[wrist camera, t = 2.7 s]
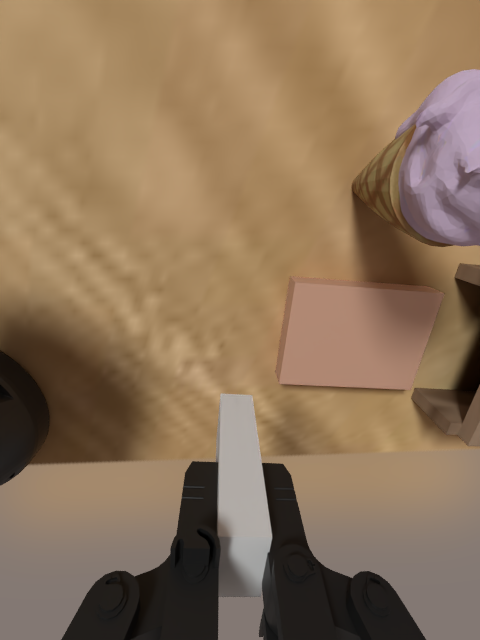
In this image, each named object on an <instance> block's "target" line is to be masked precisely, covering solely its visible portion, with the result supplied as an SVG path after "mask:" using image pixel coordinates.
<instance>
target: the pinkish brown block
mask: <svg viewBox="0 0 480 640" xmlns="http://www.w3.org/2000/svg"><path fill="white" fill-rule="evenodd" d="M443 297H444V293H442V292H440V291H437V290H435V289H433V288H431V287H428V286H415V285H402V284H389V283H375V282H362V281H349V280H336V279H322V278H309V277H296V276H290V278H289V284H288V291H287V297H286V304H285V311H284V317H283V324H282V330H281V337H280V344H279V350H278V357H277V364H276V370H275V372H276V376H277V379H278V382H279V384H293V385H315V386H338V387H360V388H382V389H404V390H411V388H412V385H413V382H414V379H415V377H416V374H417V371H418V368H419V365H420V362H421V359H422V357H423V354H424V351H425V348H426V345H427V342H428V339H429V337H430V334H431V331H432V328H433V325H434V322H435V319H436V317H437V314H438V311H439V308H440V305H441V302H442V299H443Z"/></svg>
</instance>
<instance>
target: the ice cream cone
mask: <svg viewBox="0 0 480 640" xmlns="http://www.w3.org/2000/svg"><path fill="white" fill-rule="evenodd" d="M352 190H353V192H354V193H355V194H356V195H357V196H358V197H359V198H360V199H361V200H362V201H363V202H364V203H365V204H366V205H367V206H368V207H369V208H370V209H372V210H373V211H374V212H375V213H376V214H377V215H379V216H380V217H381V218H383V219H384V220H386V221H387V222H388V223H390V224H391V225H393V226H394V227H396V228H398V229H399V230H401V231H403V232H405V233H406V234H408V235H410V236H412V237H413V238H415V239H417V240H419V241H420V242H422V243H425V244H428V245H431V246H438V247H446V246H452V245H457V246H472V245H479V246H480V70H475V69H472V70H465V71H461V72H459V73H456V74H454V75H452V76H450V77H448V78H446V79H445V80H444V81H443V82H442V83H440V84H439V85H438V86H437V87H436V88H435V89H434V90H433V91H432V92H431V93H430V94H429V95H428V97H427V98H426V99H425V100H424V102H423V103H422V104H421V106H420V107H419V109H418V110H417V111H416V112H415V113H413V114H412V115H411V116H410V117H409V118H408V119H407V120H406V121H405V122H404V123H403V124H402V125H401V126H400V127H399V128H398V131H397V133H396V136H395V139H394V140H393V141H392V142H391V143H390V144H389V145H387V146H386V147H385V148H384V149H383V150H382V151H381V152H380V153H379V154H378V155H377V156H376V157H375V158H374V159H373V160H372V161H371V162H370V163H369V164H368V165H367V166H366V167H365V168H364V169H363V170H362V172H361V173H360V174H359V175H358V176H357V177H356V178H355V179H354V181H353V183H352Z"/></svg>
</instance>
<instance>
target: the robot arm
mask: <svg viewBox="0 0 480 640" xmlns="http://www.w3.org/2000/svg"><path fill="white" fill-rule="evenodd" d="M48 429H49V412H48V407H47V404H46V401H45V398H44V396H43V394H42V392H41V390H40V389H39V387H38V386H37V384H36V383H35V381H34V380H33V379H32V377H31V376H30V375H29V374H28V373H27V372H26V371H25V370H24V369H23V368H22V367H21V366H20V365H19V364H17V363H16V362H15V361H14V360H12V359H11V358H10V357H8V356H7V355H5V354H4V353H2V352H0V485H2V484H4V483H6V482H8V481H9V480H11V479H12V478H13V477H15V476H16V475H17V474H19V473H20V472H21V471H22V470H23V469H24V468H25V467H26V466H27V465H28V464H29V462H30V461H31V460H32V458H33V457H34V456H35V454H36V453H37V451H38V450H39V449H40V447H41V446H42V444H43V443H44V441H45V439H46V436H47V433H48ZM261 591H262V592H263V601H264V609H263V614H262V619H261V623H260V630H259V637H263V636H264V640H426V639H425V637H424V636H423V634H422V633H421V631H420V629H419V628H418V626H417V624H416V623H415V621H414V620H413V618H412V617H411V615H410V613H409V612H408V610H407V609H406V607H405V605H404V604H403V602H402V601H401V599H400V598H399V596H398V594H397V593H396V591H395V590H394V589H393V588H392V586H391V585H390V584H389V583H388V582H387V581H386V580H385V579H383V578H382V577H380V576H379V575H377V574H375V573H372V572H369V571H365V572H359V573H358V574H356V575H355V576H354V577H353V578H350V577H348V576H345V575H343V574H340V573H337V572H335V571H332V570H330V569H328V568H326V567H325V566H324V565H322V564H321V563H320V562H319V561H318V560H317V559H316V558H315V557H314V556H313V554H312V552H311V551H310V549H309V546H308V543H307V540H306V536H305V532H304V528H303V524H302V520H301V515H300V511H299V507H298V503H297V501H296V495H295V491H294V487H293V482H292V478H291V475H290V473H289V472H288V471H287V469H286V468H285V466H284V465H283V464H274V463H273V464H272V463H262V461H261V454H260V447H259V440H258V433H257V426H256V419H255V412H254V405H253V398H252V395H237V394H221V395H220V406H219V418H218V429H217V443H216V462H194V461H193V462H192V463H191V465H190V466H189V468H188V469H187V471H186V473H185V479H184V486H183V493H182V500H181V507H180V514H179V521H178V528H177V535H176V536H175V538H174V540H173V543H172V546H171V554H170V556H169V557H168V558H167V559H166V561H165V562H164V563H162V564H161V565H160V566H159V567H157V568H155V569H153V570H151V571H148V572H146V573H143V574H140V575H137V576H135V577H134V576H133V575H131V574H130V573H128V572H126V571H114V572H111V573H109V574H106V575H104V576H103V577H102V578H100V579H99V580H98V581H97V582H95V584H94V585H93V586H92V588H91V589H90V590H89V592H88V593H87V595H86V597H85V599H84V600H83V602H82V604H81V606H80V607H79V609H78V611H77V613H76V615H75V616H74V618H73V620H72V622H71V624H70V625H69V627H68V629H67V631H66V633H65V634H64V636H63V638H62V640H218V597H260V596H261Z"/></svg>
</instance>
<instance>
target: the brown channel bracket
mask: <svg viewBox="0 0 480 640" xmlns="http://www.w3.org/2000/svg"><path fill="white" fill-rule="evenodd" d="M455 278H457V279H460V280H463V281H466V282H469V283H472V284H475V285H478V286H480V265H471V264H461V263H460V265H459V267H458V270H457V273H456V276H455ZM412 400H413V401H414V402H415V403H416V404H417V405H418V406H419V407H420V408H421V409H422V410H423V411H424V412H425V413H426V414H427V415H428V416H429V417H430V418H431V419H432V420H433V422H434V423H435V424H436V425H437V426H438V427H439V428H440V429H441V430H442V431H443V432H444V433H445V434H446V435H458V436H459V437H460V438H461V439H462V440H463V441H464V442H465V443H466V444H467V445H468V446H480V385H479V388H478V390H477V391H463V390H443V389H424V388H415V390H414V392H413V395H412Z"/></svg>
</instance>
